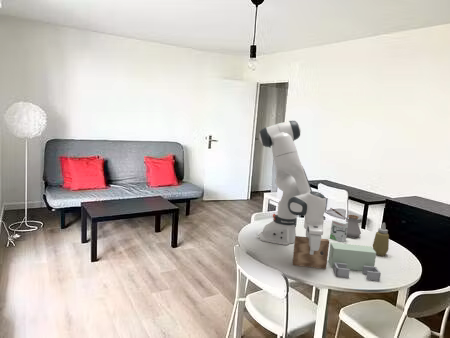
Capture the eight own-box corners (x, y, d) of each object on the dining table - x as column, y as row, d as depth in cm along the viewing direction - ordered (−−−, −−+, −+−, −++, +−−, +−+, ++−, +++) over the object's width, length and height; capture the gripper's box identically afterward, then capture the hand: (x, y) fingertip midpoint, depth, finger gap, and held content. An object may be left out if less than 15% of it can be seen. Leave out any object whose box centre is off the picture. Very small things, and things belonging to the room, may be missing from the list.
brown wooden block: (293, 266, 162) (296, 239, 160) (292, 262, 166) (295, 235, 164) (326, 269, 160) (329, 242, 158) (324, 266, 164) (328, 239, 162)
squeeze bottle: (386, 258, 178) (391, 226, 175) (370, 254, 183) (375, 223, 180) (388, 253, 185) (392, 222, 182) (372, 249, 189) (377, 219, 186)
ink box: (329, 238, 204) (331, 219, 202) (332, 236, 207) (335, 218, 205) (342, 242, 198) (345, 223, 196) (346, 240, 202) (348, 222, 200)
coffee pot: (362, 236, 211) (365, 213, 209) (356, 240, 203) (360, 217, 200) (330, 227, 225) (333, 205, 222) (323, 231, 216) (326, 209, 213)
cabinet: (380, 281, 152) (383, 260, 150) (335, 276, 154) (338, 256, 152) (368, 264, 169) (371, 246, 167) (328, 260, 171) (330, 242, 169)
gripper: (304, 218, 171) (301, 243, 173) (309, 231, 151) (306, 260, 153) (316, 219, 170) (313, 244, 172) (323, 233, 150) (320, 261, 152)
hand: (310, 252), depth 162 cm, fingers closed on brown wooden block, 3 cm apart
